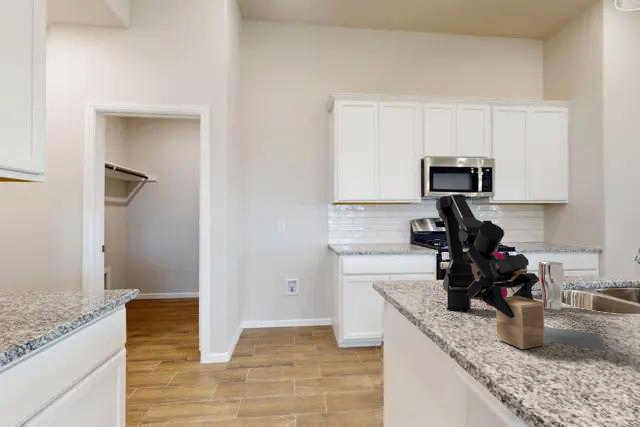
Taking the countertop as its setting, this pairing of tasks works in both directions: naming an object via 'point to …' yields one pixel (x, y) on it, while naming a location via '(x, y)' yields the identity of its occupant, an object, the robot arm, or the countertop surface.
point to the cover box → (522, 323)
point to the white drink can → (551, 284)
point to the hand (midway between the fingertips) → (524, 315)
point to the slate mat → (573, 338)
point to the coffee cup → (509, 290)
